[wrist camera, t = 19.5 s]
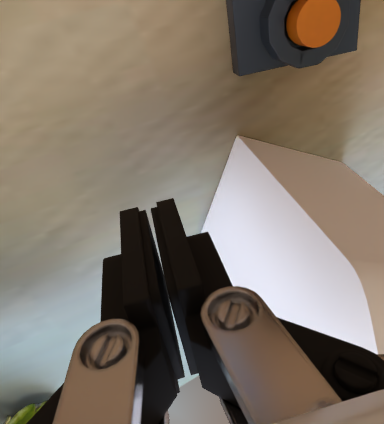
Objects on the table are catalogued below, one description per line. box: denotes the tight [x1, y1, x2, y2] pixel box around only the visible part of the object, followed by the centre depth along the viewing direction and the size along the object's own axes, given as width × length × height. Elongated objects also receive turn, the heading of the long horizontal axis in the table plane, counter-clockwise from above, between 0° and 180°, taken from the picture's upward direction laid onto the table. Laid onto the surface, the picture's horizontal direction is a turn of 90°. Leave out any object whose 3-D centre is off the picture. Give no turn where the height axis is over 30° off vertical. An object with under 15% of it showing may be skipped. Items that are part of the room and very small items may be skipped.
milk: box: [201, 135, 384, 354], centre depth 25 cm, size 12×12×26 cm
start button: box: [286, 0, 341, 48], centre depth 24 cm, size 3×3×2 cm
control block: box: [226, 0, 361, 76], centre depth 25 cm, size 10×8×4 cm
